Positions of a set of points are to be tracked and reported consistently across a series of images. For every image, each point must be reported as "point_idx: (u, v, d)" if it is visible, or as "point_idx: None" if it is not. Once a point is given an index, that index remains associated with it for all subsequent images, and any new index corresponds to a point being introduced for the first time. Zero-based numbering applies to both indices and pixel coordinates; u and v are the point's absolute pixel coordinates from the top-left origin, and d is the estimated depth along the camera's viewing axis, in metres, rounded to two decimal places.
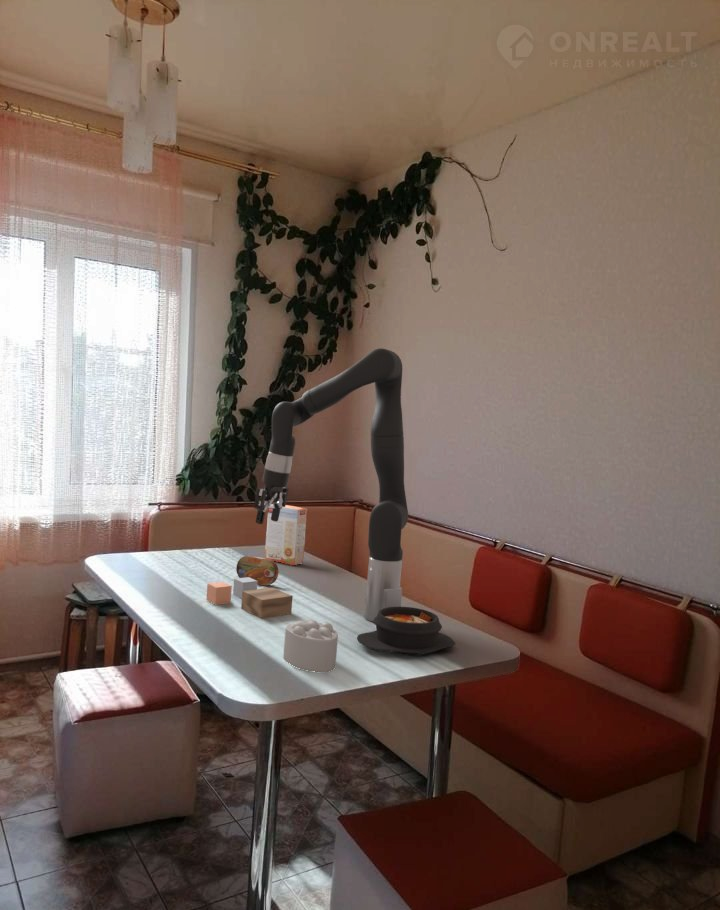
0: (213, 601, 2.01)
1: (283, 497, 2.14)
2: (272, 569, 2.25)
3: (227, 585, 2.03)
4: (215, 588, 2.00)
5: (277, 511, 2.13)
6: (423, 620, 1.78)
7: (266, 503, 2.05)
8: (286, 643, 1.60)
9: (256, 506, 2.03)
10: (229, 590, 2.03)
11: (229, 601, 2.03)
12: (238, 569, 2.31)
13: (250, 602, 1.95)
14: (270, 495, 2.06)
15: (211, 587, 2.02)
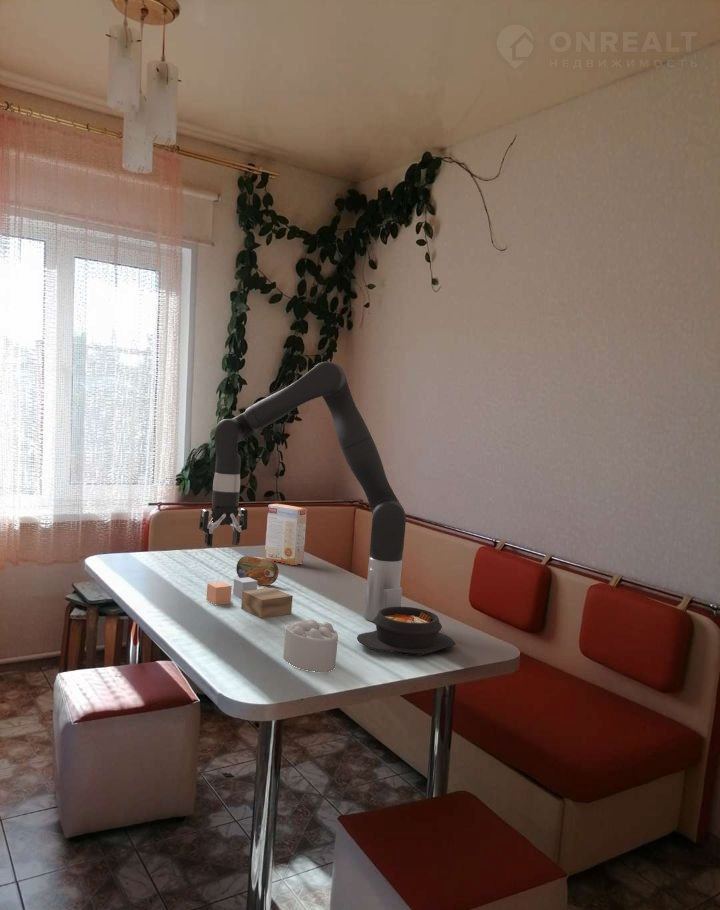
0: (213, 601, 2.01)
1: (242, 519, 2.06)
2: (272, 569, 2.25)
3: (227, 585, 2.03)
4: (215, 588, 2.00)
5: (236, 534, 2.05)
6: (423, 620, 1.79)
7: (212, 524, 1.99)
8: (286, 643, 1.60)
9: (200, 528, 1.98)
10: (229, 590, 2.03)
11: (229, 601, 2.03)
12: (238, 569, 2.31)
13: (250, 602, 1.95)
14: (217, 516, 1.99)
15: (211, 587, 2.02)
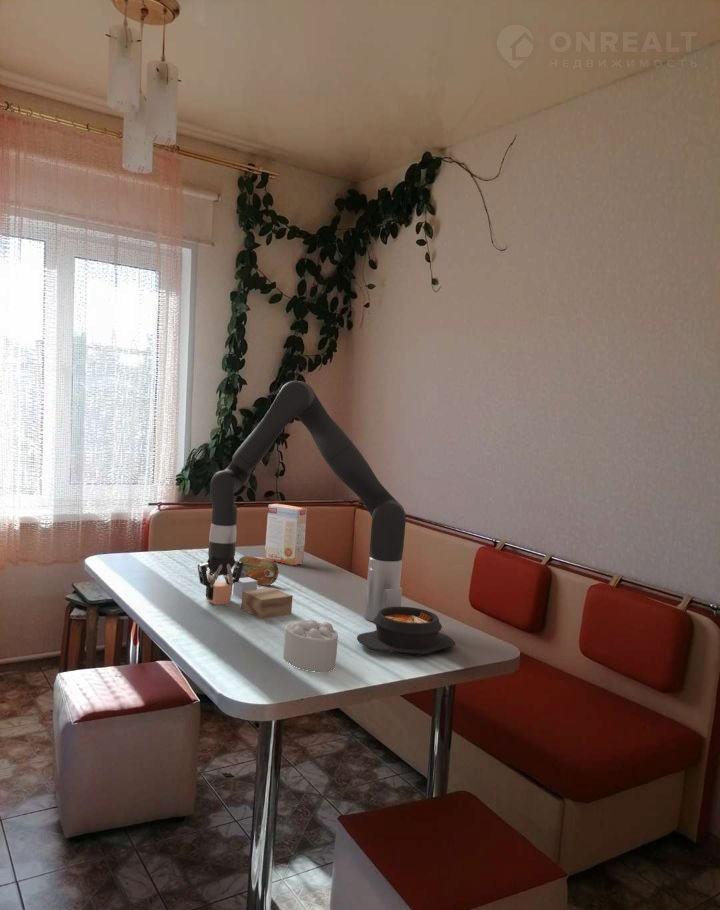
0: (213, 601, 2.01)
1: (236, 571, 2.06)
2: (272, 569, 2.25)
3: (227, 585, 2.03)
4: (215, 588, 2.00)
5: None
6: (423, 620, 1.78)
7: (211, 578, 2.00)
8: (286, 643, 1.60)
9: (201, 581, 2.00)
10: (229, 590, 2.03)
11: (229, 601, 2.03)
12: None
13: (250, 602, 1.95)
14: (213, 569, 2.00)
15: None
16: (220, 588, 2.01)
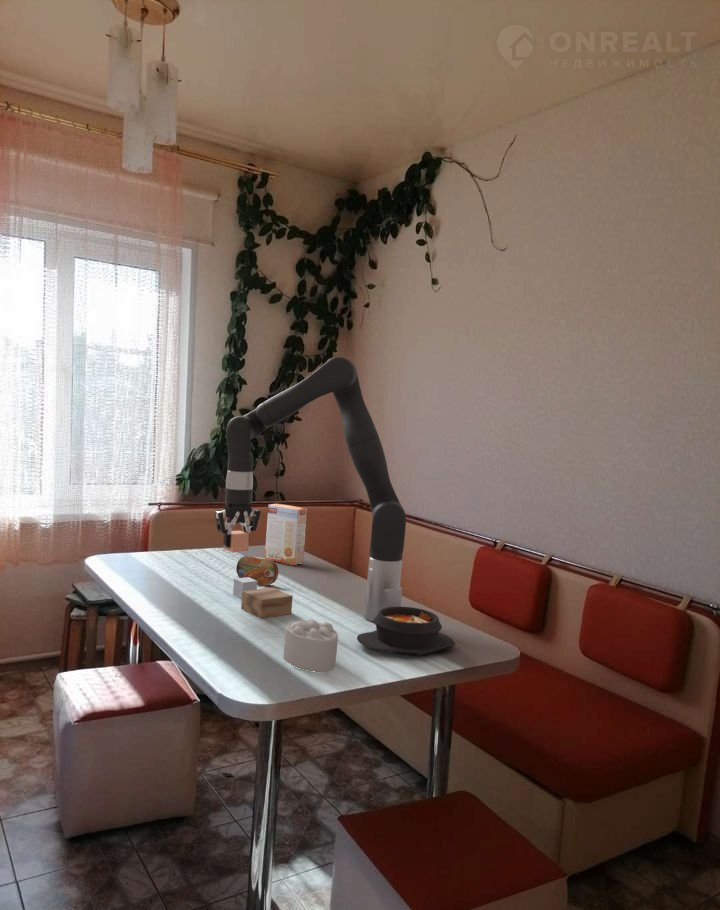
0: (231, 548, 1.99)
1: (253, 520, 2.04)
2: (272, 569, 2.25)
3: (244, 532, 2.01)
4: (232, 535, 1.98)
5: None
6: (423, 620, 1.79)
7: (229, 525, 1.98)
8: (286, 643, 1.60)
9: (219, 529, 1.98)
10: (246, 537, 2.01)
11: (247, 549, 2.01)
12: (238, 569, 2.31)
13: (250, 602, 1.95)
14: (231, 516, 1.98)
15: None
16: (237, 535, 1.99)
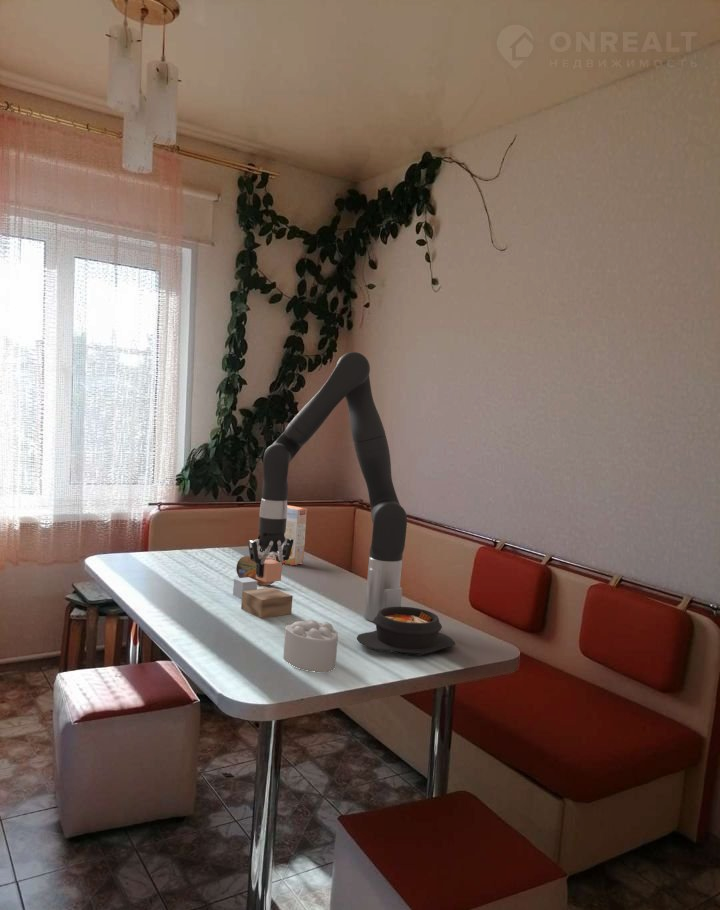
0: (263, 578, 1.94)
1: (286, 549, 2.00)
2: None
3: (277, 562, 1.97)
4: (266, 565, 1.94)
5: None
6: (423, 620, 1.78)
7: (262, 555, 1.94)
8: (286, 643, 1.60)
9: (252, 558, 1.94)
10: (279, 567, 1.96)
11: (279, 578, 1.97)
12: (238, 569, 2.31)
13: (250, 602, 1.95)
14: (264, 545, 1.94)
15: None
16: (271, 565, 1.94)
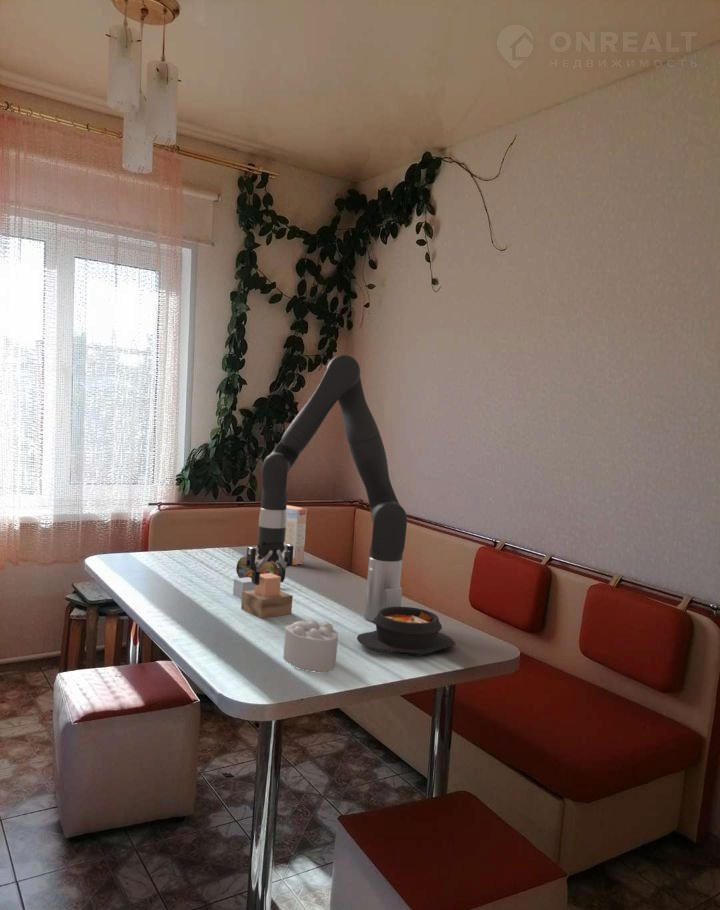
0: (262, 592, 1.95)
1: (288, 555, 2.00)
2: (272, 569, 2.25)
3: (276, 576, 1.97)
4: (264, 579, 1.94)
5: (281, 571, 1.99)
6: (423, 620, 1.78)
7: (259, 562, 1.94)
8: (286, 643, 1.60)
9: (247, 566, 1.93)
10: (278, 581, 1.97)
11: (278, 593, 1.97)
12: (238, 569, 2.31)
13: (250, 602, 1.95)
14: (263, 553, 1.94)
15: (260, 578, 1.96)
16: (270, 580, 1.95)
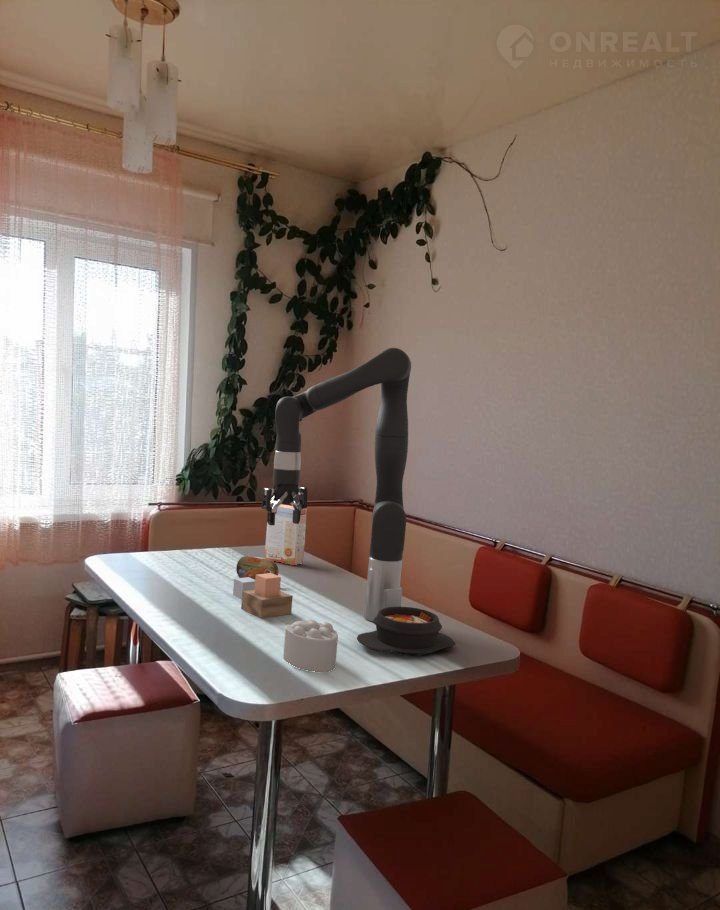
0: (262, 592, 1.95)
1: (302, 498, 2.05)
2: (272, 569, 2.25)
3: (276, 576, 1.97)
4: (264, 579, 1.94)
5: (296, 513, 2.04)
6: (423, 620, 1.78)
7: (275, 503, 1.98)
8: (286, 643, 1.60)
9: (263, 506, 1.97)
10: (278, 581, 1.97)
11: (278, 593, 1.97)
12: (238, 569, 2.31)
13: (250, 602, 1.95)
14: (279, 494, 1.99)
15: (260, 578, 1.96)
16: (270, 580, 1.95)
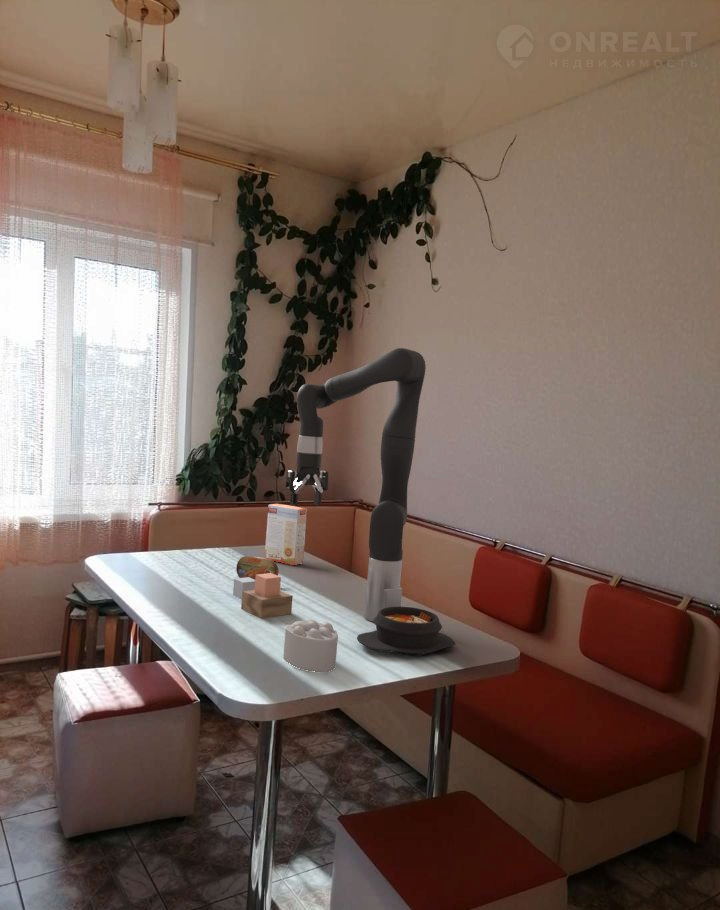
0: (262, 592, 1.95)
1: (323, 481, 2.16)
2: (272, 569, 2.25)
3: (276, 576, 1.97)
4: (264, 579, 1.94)
5: (317, 494, 2.15)
6: (423, 620, 1.78)
7: (297, 484, 2.10)
8: (286, 643, 1.60)
9: (286, 487, 2.09)
10: (278, 581, 1.97)
11: (278, 593, 1.97)
12: (238, 569, 2.31)
13: (250, 602, 1.95)
14: (301, 477, 2.10)
15: (260, 578, 1.96)
16: (270, 580, 1.95)
